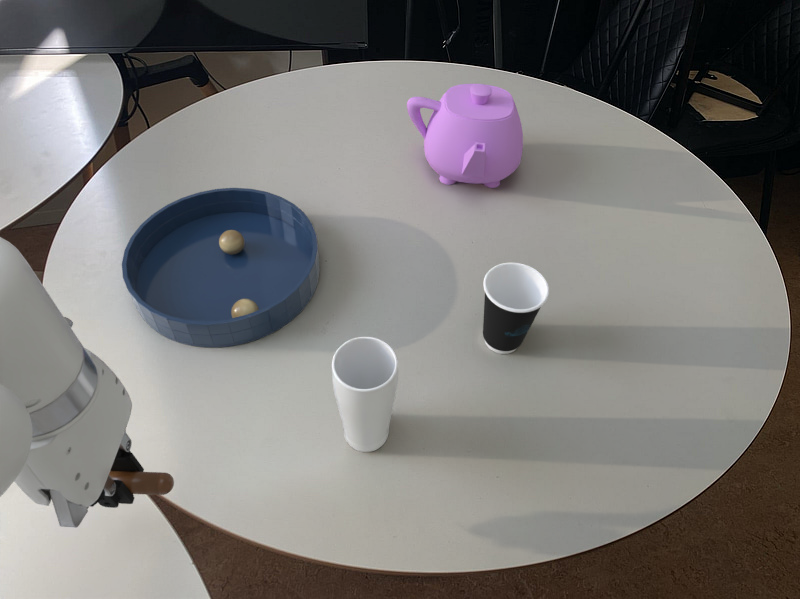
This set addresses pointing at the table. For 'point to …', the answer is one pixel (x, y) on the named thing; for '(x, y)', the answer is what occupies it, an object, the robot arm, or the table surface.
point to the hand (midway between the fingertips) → (122, 485)
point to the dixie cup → (511, 304)
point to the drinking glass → (365, 390)
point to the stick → (145, 482)
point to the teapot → (471, 134)
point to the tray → (221, 266)
